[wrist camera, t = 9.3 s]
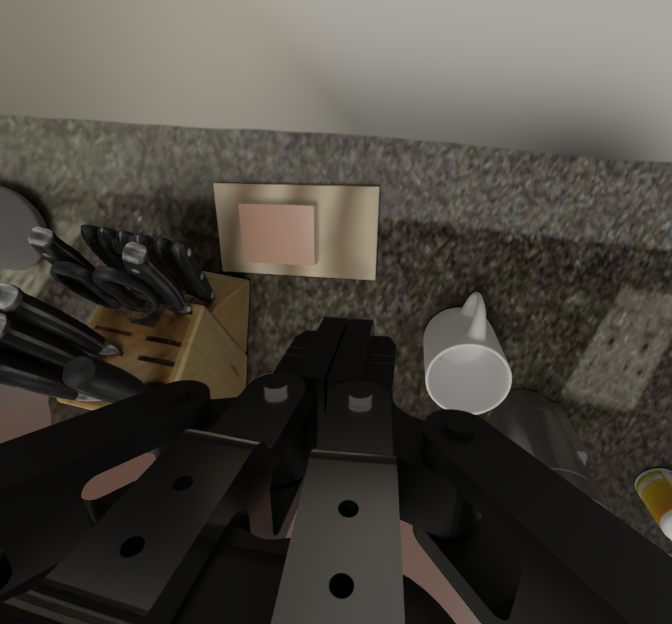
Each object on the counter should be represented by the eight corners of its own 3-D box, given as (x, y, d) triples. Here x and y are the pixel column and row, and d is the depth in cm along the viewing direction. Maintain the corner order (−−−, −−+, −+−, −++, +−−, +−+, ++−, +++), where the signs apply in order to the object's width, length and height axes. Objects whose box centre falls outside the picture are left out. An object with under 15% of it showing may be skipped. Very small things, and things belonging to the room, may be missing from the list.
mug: (510, 286, 47) (535, 322, 38) (481, 371, 52) (497, 423, 42) (438, 273, 48) (444, 305, 38) (416, 358, 53) (417, 405, 43)
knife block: (258, 207, 49) (50, 287, 21) (246, 431, 63) (112, 657, 35) (173, 192, 50) (-130, 250, 22) (180, 415, 65) (0, 622, 36)
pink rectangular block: (313, 205, 45) (238, 203, 46) (314, 265, 47) (243, 261, 49) (317, 203, 47) (244, 201, 48) (318, 261, 49) (249, 257, 51)
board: (379, 186, 46) (379, 187, 45) (375, 277, 50) (375, 280, 49) (216, 182, 49) (213, 183, 48) (226, 269, 53) (222, 271, 52)
